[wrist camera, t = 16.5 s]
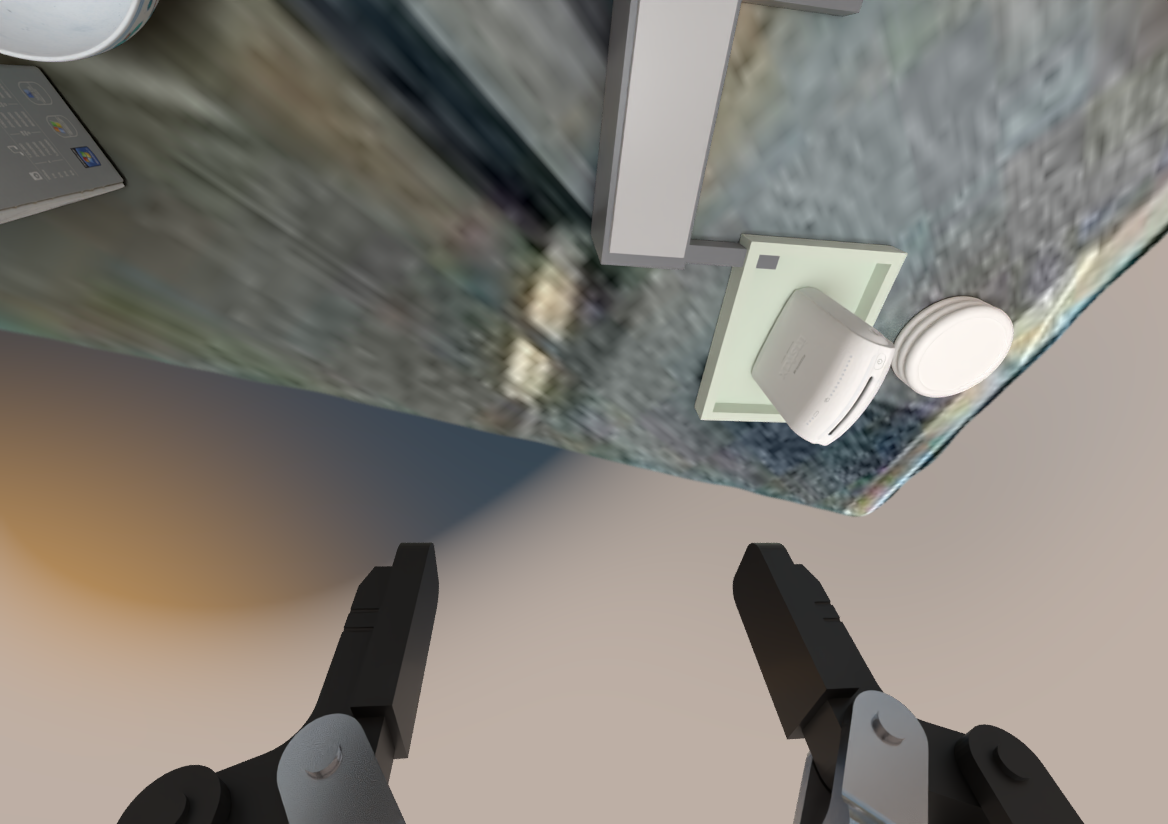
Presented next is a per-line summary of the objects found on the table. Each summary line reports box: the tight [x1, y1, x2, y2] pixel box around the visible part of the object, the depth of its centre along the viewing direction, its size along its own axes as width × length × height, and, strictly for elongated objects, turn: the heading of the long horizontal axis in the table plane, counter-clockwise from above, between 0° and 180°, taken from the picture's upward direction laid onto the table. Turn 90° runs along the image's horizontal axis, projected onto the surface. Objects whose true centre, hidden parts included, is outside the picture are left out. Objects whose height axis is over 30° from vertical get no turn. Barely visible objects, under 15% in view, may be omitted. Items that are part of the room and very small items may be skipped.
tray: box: [694, 234, 908, 422], centre depth 45 cm, size 18×14×2 cm
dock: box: [591, 0, 863, 270], centre depth 32 cm, size 18×16×9 cm
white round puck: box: [891, 296, 1014, 397], centre depth 47 cm, size 10×10×4 cm
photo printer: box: [752, 287, 895, 446], centre depth 41 cm, size 10×4×12 cm, turn 164°
